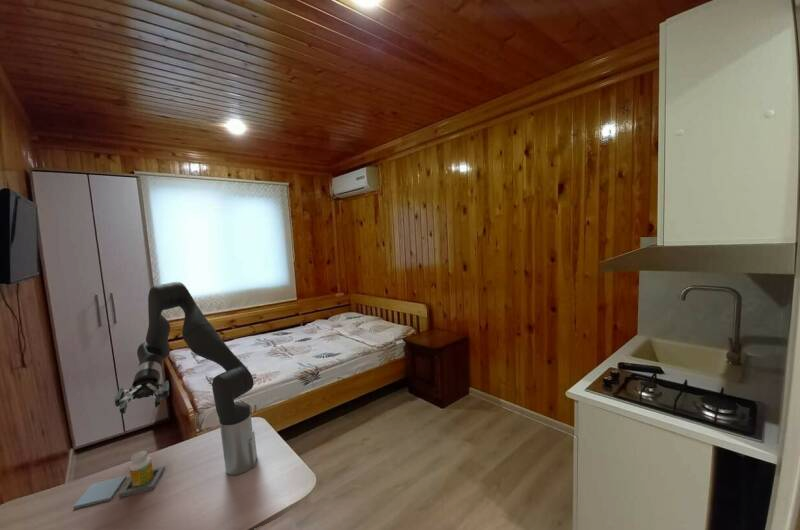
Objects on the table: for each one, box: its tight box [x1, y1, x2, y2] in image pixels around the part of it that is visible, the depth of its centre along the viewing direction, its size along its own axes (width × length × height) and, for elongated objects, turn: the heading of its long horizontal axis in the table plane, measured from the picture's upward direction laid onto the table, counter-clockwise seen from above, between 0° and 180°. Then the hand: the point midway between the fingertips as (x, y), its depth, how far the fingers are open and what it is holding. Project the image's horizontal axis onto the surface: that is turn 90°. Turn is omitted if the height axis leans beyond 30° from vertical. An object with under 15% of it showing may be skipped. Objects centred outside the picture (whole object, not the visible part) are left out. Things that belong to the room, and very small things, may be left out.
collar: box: [118, 465, 166, 498], centre depth 103 cm, size 9×9×1 cm
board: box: [73, 475, 127, 510], centre depth 100 cm, size 9×9×1 cm
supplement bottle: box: [129, 450, 155, 488], centre depth 103 cm, size 5×5×10 cm
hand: (140, 408), depth 105 cm, fingers open, 8 cm apart
